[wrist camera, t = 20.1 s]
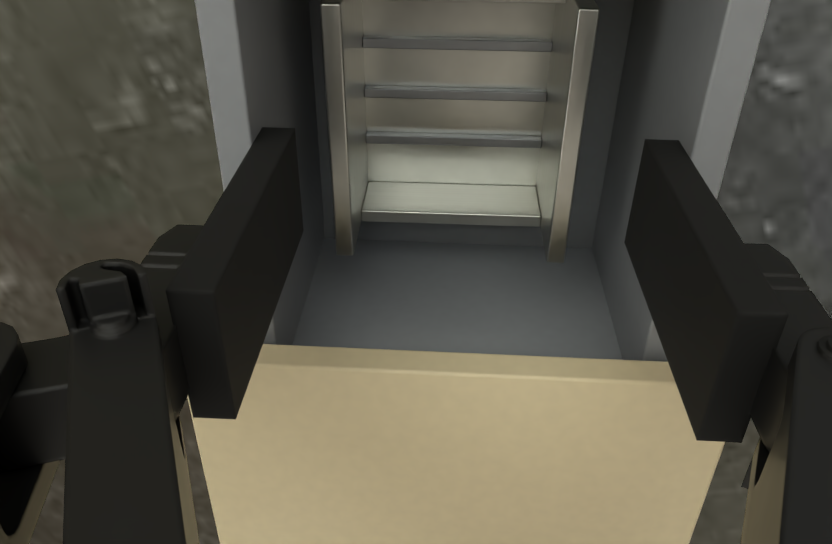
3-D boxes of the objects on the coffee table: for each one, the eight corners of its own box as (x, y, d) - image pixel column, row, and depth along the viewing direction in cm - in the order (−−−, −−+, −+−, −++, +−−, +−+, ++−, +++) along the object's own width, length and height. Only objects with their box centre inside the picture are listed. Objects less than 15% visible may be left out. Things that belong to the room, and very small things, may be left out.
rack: (355, 184, 25) (336, 255, 21) (345, -37, 21) (319, 2, 17) (548, 190, 24) (564, 263, 21) (575, -33, 20) (600, 8, 17)
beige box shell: (272, 169, 27) (177, 361, 18) (650, 182, 26) (746, 387, 17) (303, 447, 35) (248, 674, 26) (590, 462, 34) (635, 698, 25)
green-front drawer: (225, -401, 17) (50, -540, 10) (759, -400, 17) (990, -543, 9) (289, 238, 27) (225, 405, 20) (626, 251, 27) (689, 427, 19)
